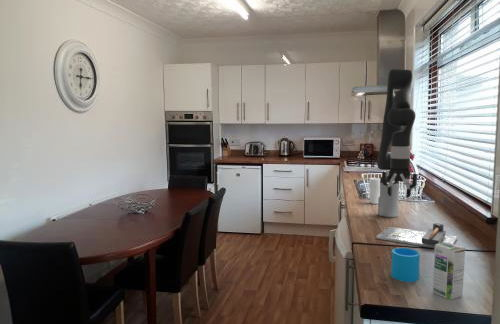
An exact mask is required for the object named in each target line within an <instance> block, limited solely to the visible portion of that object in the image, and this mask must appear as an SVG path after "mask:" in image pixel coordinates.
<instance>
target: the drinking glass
mask: <svg viewBox="0 0 500 324" xmlns="http://www.w3.org/2000/svg"><path fill="white" fill-rule="evenodd" d="M380 178H381V177H380ZM380 178H379V177H370V178H369V182H368V184H369V185H368V186H369V199H370V201H369V203H370V204H372V205H378V198H379V197H380Z"/></svg>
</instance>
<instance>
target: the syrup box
mask: <svg viewBox="0 0 500 324" xmlns="http://www.w3.org/2000/svg"><path fill="white" fill-rule="evenodd" d="M465 254H466V247H465V246H460V245H457V244H455V243H454V244H452V243H449V242H442V243H438V244H435V248H434V255H433V256H434V259H433V277H432V279H433V280H432V282H433V283H432V294H436V295H438V296H441V297H442V298H444V299H446V300H449V301H451V300H454V299H457V298H460V297H462V296H463V293H464V291H463V289H464V278H465V277H464V272H465V257H466V255H465Z"/></svg>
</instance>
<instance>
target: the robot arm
mask: <svg viewBox="0 0 500 324" xmlns="http://www.w3.org/2000/svg"><path fill="white" fill-rule="evenodd" d="M414 75H415V74H414V72H413V70H412V69H405V68H404V69H401V68H392V69H390V71H389V72H388V75H387V76H388V77H387V89H386V99H385V100H386V102H385V108H384V114H383V120H382V121H383V122H382V130H381V139H380V145H379V150H378V153H377V154H378V155H377V161H376V162H377V163H376V164H377V165H376V166H377V169H379V170H382V172H381V174H382V176H381V177H380V197H379V198H378V204H377V209H378V210H377V216H380V217H384V218H396V217H399V198H400V197H399V196H400V195H399V194H400V193H399V190H400V182H401V183H404V185H405V187H406V188H407V189H406V193H405V194H406V195H405V196H406V197H405V198H406V199H407V198H410V197H411V195H412V189H414V188H416V187H417V184H418V183H417V181H418V174H419V173H417V172H411V170H410V167H411V147H410V146H411V144H410V141H411V133H412V129H413V125H414V123H415V120H416V118H417V117H416V112H415V110H414V109H413V108H411V95H412V91H413V86H414V78H415V76H414ZM395 90H398V91H396V93H395ZM403 127H404V129H403ZM390 146H391V149H390V151H388V150H389V148H390ZM409 177H411V179H412V182H411V183H410V179H409Z"/></svg>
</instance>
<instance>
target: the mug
mask: <svg viewBox="0 0 500 324" xmlns="http://www.w3.org/2000/svg"><path fill="white" fill-rule="evenodd" d="M420 254H421V253H420V252H419V251H417V250H415V249H412V248H407V247H397V248H395V247H394V248H393V249H392V250H391V271H390V272H391V273H390V275H391V277H392V279H394V278H395V279H394V280H396V279H397V281H399V282H403V281H405V282H404V283H413V282H414V281H415V282H417V280H418V281H419V278H420V257H421V256H420Z"/></svg>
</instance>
